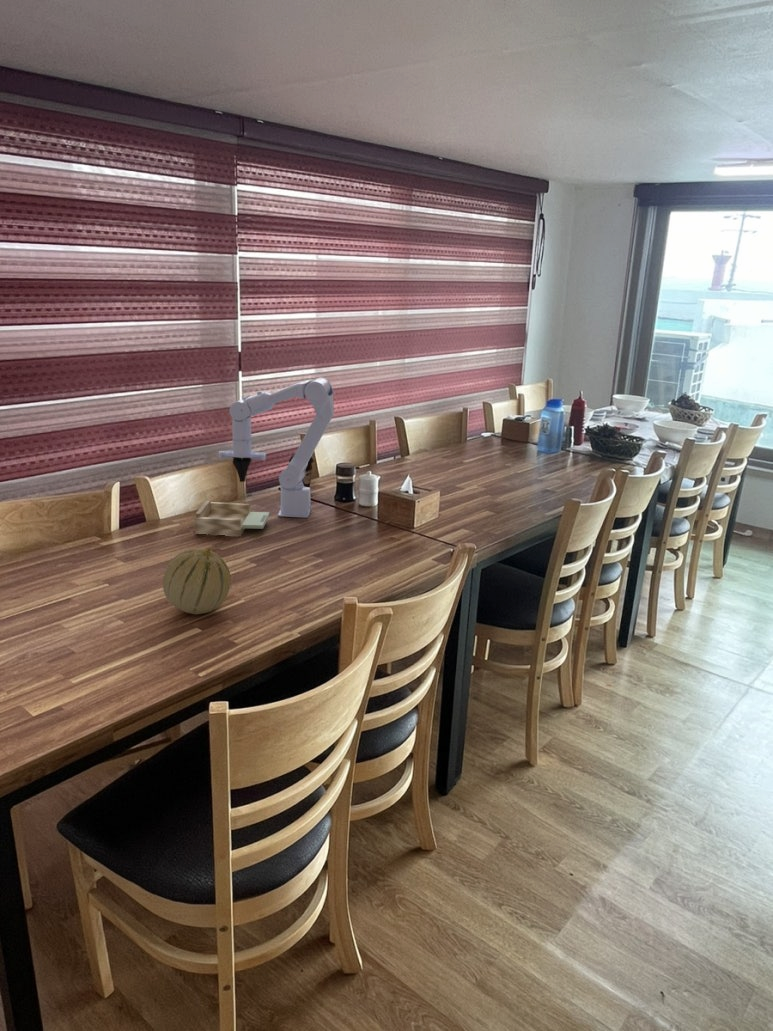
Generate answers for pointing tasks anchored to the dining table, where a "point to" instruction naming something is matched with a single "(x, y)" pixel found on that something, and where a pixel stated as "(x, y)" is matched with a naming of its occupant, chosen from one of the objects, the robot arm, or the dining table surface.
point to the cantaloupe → (196, 581)
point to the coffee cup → (306, 472)
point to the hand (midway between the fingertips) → (242, 480)
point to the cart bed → (221, 518)
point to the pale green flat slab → (256, 520)
